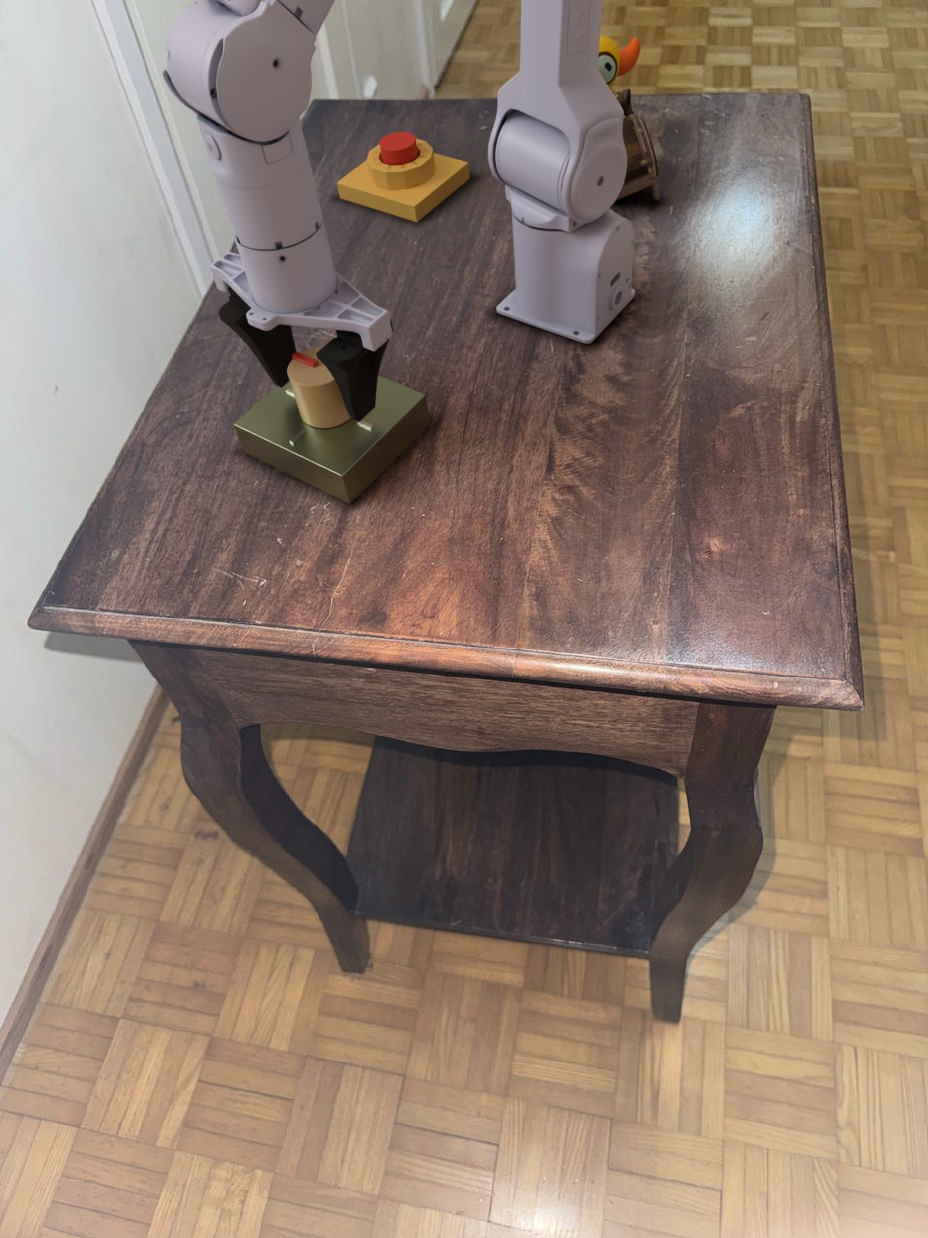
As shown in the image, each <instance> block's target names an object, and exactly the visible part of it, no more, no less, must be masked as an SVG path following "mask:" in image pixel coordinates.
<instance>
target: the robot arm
mask: <svg viewBox="0 0 928 1238" xmlns="http://www.w3.org/2000/svg"><path fill="white" fill-rule="evenodd" d="M335 1H336V0H193V3H194V4H193V5H192V6H191V5H188V4H187V5H186V6H184V7H183V9H182V10H181V11H180V12H179V13H178V14H177V16H176V18H175V19H174V20H173V22H172V25H171V27H170V29H169V32H168V35H167V41H166V50H165V51H167V58H165V59H166V65H167V66H166V67H167V68H164V69H163V70H162V72H161V75H162V78H163V79H164V82H165V85H167V88H168V89H169V91H170V92H171V94H172V95H173V96H174V97H175V99H177V100H178V102H180V103H181V104H182V105H183V106H185V107H186V108H187V109H189V110H190V111H192V113H193V114H194V115H195V116H196V121H197V125H198V128H199V131H200V134H201V137H202V140H203V143H204V147H205V150H206V153H207V156H208V159H209V163H210V164H209V165H210V168H211V171H212V174H213V177H214V180H215V183H216V187H217V189H218V194H219V196H220V198H221V202H222V205H223V208H224V212H225V215H226V217H227V221H228V224H229V227H230V230H231V233H232V236H233V239H234V242H235V245H236V248H237V251H238V253H234V252H231V251H227V252H225V254H223V255H222V256H220V257H219V258H217V260H215V261H214V262H212V263H211V264H210V265H209V268H210V272H211V275H212V277H213V281H214V283H215V285H216V286H215V287H216V289H217V290H218V291H221V292H223V293H226V294H228V293H229V295H228V301H226V303H223V305H222V306H221V307H219V310H218V316H219V319H220V321H221V322H222V323H223V324H225V325H226V326H227V327H229V329H231V330H232V331H233V332H234V333H235V334H236V335H237V336H238V337H239V338H240V339H241V340H242V341H243V342H244V343H245V345H246V346H247V347H248V348H249V349H250V351H251V352H252V354H253V355H254V357H256V359H257V360H258V362H259V364H260V365H261V366H262V368H263V370H264V372H266V374H267V375H268V377H269V379H270V380H271V382H272V383H273V384H274V385H275V387H277V386H278V387H281V388H282V387H283V386H285V385H286V384H287V383H288V382H289V381H290V380H289V377H288V373H287V369H288V366H289V364H290V362H291V361H292V359H293V357H292V355H293V354H294V353H296V352H298V351H297V348H296V343H295V338H294V335H293V328H292V326H293V327H305V328H315V329H325V330H335V334H336V337H333V338H332V339H331V340H329V341H328V342H327V343H326V344H325V345H323V346H322V347H323V348H322V349H320V350H319V351H318V352H317V353H316V355H317V358H318V359H319V360H320V361H321V362H322V363H323V364H324V365H325V366H326V368H327V369H328V370H329V372H330V373H331V375H332V376H333V378H334V379H335V381H336V383H337V385H338V387H339V390H340V392H341V395H342V398H343V401H344V404H345V407H346V410H347V412H348V414H349V415H350V417H351V418H352V419H353V420H355V421H358V422H359V421H361V420H362V419H363V418H364V417H365V416H366V415H367V414H368V413H370V412H371V411H372V410H373V409H374V408H375V405H376V390H377V381H378V375H379V374H380V368H381V364H382V361H383V358H384V354H385V352H386V348H387V346H388V344H389V341H390V339H391V338H392V337H393V335H394V334H393V332H394V325H393V321H392V320H391V318H390V312H389V310H387V309H385V308H383V307H380V306H378V305H377V304H375V303H374V302H372V301H371V300H370V299H368V298H367V297H366V296H365V295H364V294H363V293H362V292H361V291H359V290H358V289H357V288H356V287H355V286H354V285H353V284H352V283H351V282H349V281H348V280H347V279H346V278H345V277H344V276H343V275H342V274H340V273H339V272H338V271H337V270H336V267H335V264H334V260H333V256H332V251H331V247H330V242H329V238H328V234H327V229H326V225H325V221H324V220H325V219H324V216H323V212H322V208H321V203H320V198H319V194H318V191H317V186H316V181H315V178H314V173H313V168H312V164H311V160H310V155H309V152H308V148H307V143H306V139H305V134H304V132H303V126H302V122H301V115H303V113H305V112H306V110H307V109H308V107H309V103H310V99H311V96H312V95H311V94H312V90H313V89H312V88H313V87H312V86H313V74H312V73H313V72H312V60H313V57H314V54H315V53H316V50H317V47H316V46H315V43H316V41H317V36H318V34H319V33H320V30H321V28H322V26H323V24H324V22H325V20H326V19H327V17H328V14H329V13H330V11H331V9H332V7H333V5H334V4H335ZM603 6H604V0H521V5H520V8H521V9H520V51H519V52H520V54H519V55H520V56H519V70H518V72H517V73H515V74H514V75H513V76H512V77H511V78H510V79H509V80H508V81H507V82H505V83H503V85H502V86H501V87H500V88H499V89H498V91H497V109H496V116H495V120H494V124H493V127H492V129H491V133H490V136H489V140H488V146H487V161H488V166H489V170H490V171H491V173H492V176H494V178H495V179H496V181H498V182H499V183H501V184H503V185H504V190H505V191H504V192H505V200H507V201H508V202H509V203H510V205H511V223H512V240H513V241H512V242H513V243H512V245H513V258H514V259H513V261H514V262H513V263H514V274H515V275H514V276H515V277H514V279H515V288H514V289H513V290H512V291H511V292H510V293H509V294H508V295H507V296H506V297H505V298H504V299H503V300H502V301H501V302H499V303H498V304H497V306H496V313H497V314H499V315H502V316H505V317H507V318H510V319H512V320H515V321H519V322H521V323H524V324H527V325H530V326H533V327H536V328H539V329H541V330H544V331H547V332H550V333H552V334H555V335H559V336H561V337H564V338H568V339H571V340H573V341H575V342H578V343H582V344H585V345H589V344H592V343H593V342H594V341H595V339H597V338H598V337H599V335H601V333H602V332H603V331H604V330H605V329H606V328H607V327H608V325H610V323H611V322H612V321H613V320H614V319H615V318H617V316H618V315H619V314H620V313H621V312H622V310H623V309H624V308H625V307H626V306H627V305H628V304H629V303H630V302H631V301H632V300H633V298H635V296H636V289H634V288H632V287H633V273H634V272H633V270H634V254H635V239H636V238H635V237H636V236H635V228H634V225H633V223H632V221H631V220H629V219H627V218H626V217H623V216H621V215H620V214H618V213H617V212H615V211H613V209H612V208H611V207H612V206H613V205H614V204H615V202H616V201H615V200H616V199H617V197H618V195H619V193H620V191H621V189H622V186H623V184H624V180H625V176H626V170H627V152H626V148H625V144H624V141H623V133H622V131H623V119H624V118H625V115H624V111H623V109H622V107H621V105H620V103H619V102H618V100H617V99H616V97H615V96H614V94H613V93H612V91H611V90H610V88H609V87H608V85H607V84H606V82H605V81H604V79H603V78H602V76H601V74H600V72H599V70H598V56H599V44H600V35H601V32H602V31H601V30H602V19H603V8H604V7H603Z"/></svg>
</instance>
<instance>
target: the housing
mask: <svg viewBox="0 0 928 1238" xmlns="http://www.w3.org/2000/svg"><path fill="white" fill-rule="evenodd" d="M416 143H417V150H418V158H417V159H416V160H414V161H413V162H411V163H408V164H405V165H395V166H390V165H387V164H384V163H383V161H382V156H381V150H380V143H378V144H377V145H376V146H375V147H373V148H372V149H371V150H369V151H368V155H367V157H366V160H365V161H363V162H362V163H361V164H359V165H358V166H357V167H356V168H354V169H352V170H351V171H349V173H347V174H346V175H345V176H342V178H341V179H339V180H338V181H337V182H336V186H337V190H338V195H339V199H341V200H344V201H348V202H351V203H354V204H356V205H360V206H363V207H367V208H370V209H374V210H376V211H380V212H383V213H386V214H388V215H392V216H395V217H399V218H402V219H405V220H408V221H412V222H415V223H418V222H419V221H420V220H422V219H423V218H424V217H425V216H427V215H428V214H429V213H430V212H431V211H432V210H434V209H435V208H436V207H437V206H439V205H440V204H441V203H442V202H443V201H445V200H446V199H447V198H449V197H450V196H451V195H452V194H453V193H454V192H455V191H457V190H458V189H459V188H461V187H462V186H463V185H464V184H465V183H467V181H469V180H470V178H471V176H470V166H469V165H470V164H469V162H468V161H466V160H465V161H464V160H461V159H457V158H454V157H450V156H446V155H443V154H439V153H435V152H434V148H433V147H432V146H431V145H430V144H429V142H427V141H426V140H423V139H420V138H416Z"/></svg>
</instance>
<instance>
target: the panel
mask: <svg viewBox="0 0 928 1238" xmlns="http://www.w3.org/2000/svg"><path fill="white" fill-rule="evenodd" d="M427 402H428V401H427V395H426V394H425V393H423V392H419V391H418V390H415V389H413V388H410V387H408V386H405V385H403V384H401V383H399V382H395V381H394V380H391V379H388V378H386V377H384V376H381V375H379V374H378V381H377V390H376V405H375V408H374V409H373V410H372V411H371V412H370V413H368V414H367V415H366V416H365V417H364V418H363V419H362V420H361V421H359V422H358V421H355V420H353V419H352V418H350V419H349V420H348V421H346V422H345V423H343V424H341V425H338V426H335V427H331V428H316V427H313V426H310V425H308V424H307V423H305V422H304V421H303V419H302V418H301V415H300V412H299V409H298V405H297V402H296V399H295V396H294V393H293V389H292V386H291V383H290V381H289V382H288V383H287V384H286V385H285V386H283V387H282V388H281V387H278V386H275V387H274V388H273V389H272V390H271V391H270V392H268V393H267V394H266V395H265V396H263V397H262V398H261V399H260V400H259V401H258V402H257V403H256V404H254V406H252V407H251V408H250V409H249V410H248V411H245V413H244V414H243V415H242V416H240V417H239V418H238V419H237V420H236V421H234V423H233V427H234V430H235V433H236V435H237V438H238V440H239V443H240V445H241V447H242V450H243V453H244V454H247V455H248V456H250V457H252V458H254V459H256V460H259V461H260V462H263V463H265V464H266V465H269V466H270V467H273V468H275V469H277V470H279V471H281V472H283V473H285V474H287V475H289V476H291V477H292V478H295V479H297V480H299V481H301V482H302V483H303V482H304V483H305V484H307V485H310V486H311V487H313V488H314V489H317V490H320V491H322V492H324V493H325V494H328V495H330V496H331V497H334V498H335V499H338V500H340V501H343V502H344V503H346V504H348V505H351V504H352V503H353V502H354V501H356V499H357V498H358V497H360V495H361V494H363V492H364V491H365V490H366V489H367V488H368V487H369V486H370V485H371V484H372V483H374V482H375V480H376V479H377V478H378V477H379V476H381V474H382V473H383V472H384V471H385V470H386V469H387V468H388V467H389V466H390V465H391V464H392V463H393V462H394V461H395V460H396V459H397V458H398V457H400V455H401V454H402V453H403V452H404V451H405V450H406V449H407V448H408V447H409V446H410V445H412V443H413V442H414V441H415V440H416V439H417V438H418V437H419V436H420V435H421V434H422V433H423V432H424V431H425V430H426V429H427V428H428V427H429V426H430V425H431V420H430V415H429V408H428V403H427Z"/></svg>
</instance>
